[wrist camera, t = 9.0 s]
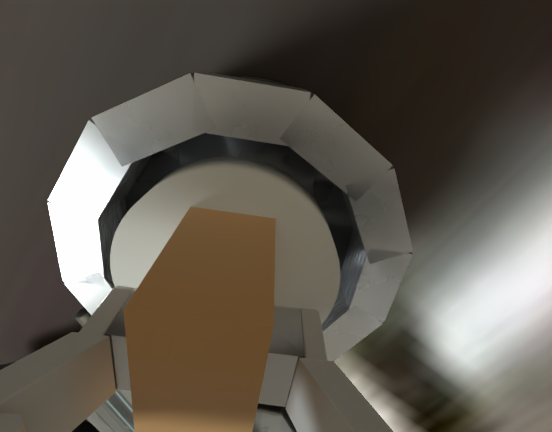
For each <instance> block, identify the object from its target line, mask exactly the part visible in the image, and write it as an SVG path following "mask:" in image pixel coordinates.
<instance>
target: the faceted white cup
mask: <svg viewBox="0 0 552 432" xmlns="http://www.w3.org/2000/svg"><path fill="white" fill-rule="evenodd" d="M228 156H230V157H241V158H248V159H252V160H257V161H260V162H263V163H266V164H269V165H272V166H274V167H276V168H278V169H280V170H282V171H284V172H286V173H287V174H289V175H290V176H291V177H293V178H294V179H296V180H297V181H298V182H299V183H301V184H302V185H303V186H304V187H305V188H306V189H307V190H308V191H309V192H310V193H311V195H312V196H313V197H314V198H315V199H316V201H317V203H318V204H319V206H320V207H321V209H322V211H323V213H324V215H325V218H326V220H327V223H328V226H329V229H330V232H331V235H332V238H333V241H334V244H335V247H336V251H337V255H338V258H339V264H340V287H339V291H338V295H337V299H336V301H335V304H334V306H333V308H332V310H331V312H330V314H329V315H328V317H327V318H326V320H325V321H324V322H323V323H322V330H323V336H324V342H325V347H326V353H327V359H328V361H335V360H336V359H337V358H339V357H340V356H341V355H343V354H344V353H345V352H346V351H348V350H349V349H350V348H352V347H353V346H354V345H356V344H357V343H358V342H359V341H361V340H362V339H363V338H365V337H366V336H367V335H369V334H370V333H371V332H372V331H374V330H375V329H376V328H378V327H379V326H380V325H382V324H383V323H382V321H385V319H386V317H387V314H388V312H389V309H390V307H391V305H392V302H393V300H394V298H395V295H396V293H397V290H398V288H399V286H400V283H401V281H402V279H403V276H404V274H405V271H406V269H407V267H408V264H409V262H410V259H411V257H412V255H413V254H412V252H413V249H412V244H411V240H410V235H409V231H408V226H407V222H406V217H405V213H404V208H403V204H402V200H401V195H400V191H399V186H398V182H397V177H396V173H395V168H394V167H392V166H393V165H392V164H391V163H390V162H389V161H388V160H386V159H385V158H384V157H383V156H382V155H381V154H380V153H379V152H378V151H377V150H375V149H374V148H373V147H372V146H371V145H370V144H369V143H368V142H367V141H366V140H364V139H363V138H362V137H361V136H360V135H359V134H358V133H357V132H356V131H355V130H353V129H352V128H351V127H350V126H349V125H348V124H347V123H346V122H345V121H344V120H342V119H341V118H340V117H339V116H338V115H337V114H336V113H335V112H334V111H333V110H331V109H330V108H329V107H328V106H327V105H326V104H325V103H324V102H323V101H322V100H320V99H319V98H318V97H317V96H316V95H315V94H313V93H312V92H310V91H308V90H306V89H303V88H298V87H292V86H289V85H287V84H284V83H282V82H278V81H274V80H270V79H266V78H258V77H233V76H227V75H221V74H215V73H189V74H187V75H185V76H183V77H180V78H178V79H176V80H174V81H172V82H169V83H167V84H165V85H163V86H161V87H158V88H156V89H154V90H152V91H149V92H147V93H145V94H143V95H141V96H138V97H136V98H134V99H132V100H130V101H127V102H125V103H123V104H121V105H118V106H116V107H114V108H112V109H110V110H107V111H105V112H103V113H101V114H99V115H96V116H94V117H92V120H89V121H88V123H87V125H86V127H85V129H84V131H83V132H82V134H81V136H80V138H79V140H78V142H77V144H76V146H75V148H74V150H73V152H72V154H71V156H70V158H69V160H68V162H67V164H66V166H65V168H64V170H63V172H62V174H61V176H60V178H59V180H58V182H57V184H56V185H55V187H54V189H53V191H52V193H51V195H50V197H49V199H48V200H49V201H50V202H49V203H48V207H49V212H50V217H51V222H52V228H53V233H54V238H55V243H56V248H57V254H58V259H59V264H60V269H61V274H62V280H63V281H66V282H65V283H64V284H65V285H66V286H67V288H68V289H69V290H70V291H71V292H72V293H73V295H74V296H75V297H76V298H77V299H78V300H79V302H80V303H81V304H82V305H83V306H84V307H85V309H86V310H87V311H88V312H89V313H90V314H91V315H92V314H93V313H94V312H95V311H96V309H97V308H98V307H99V305H100V304H101V303H102V301H103V300H104V299H105V298H106V296H107V295H108V294H109V292H110V291H111V290H112V289H113V288H114V287H115V286H114V283H113V280H112V275H111V269H110V252H111V245H112V241H113V238H114V235H115V232H116V230H117V228H118V226H119V224H120V222H121V220H122V219H123V217H124V216H125V215H126V213H127V212H128V211H129V210H130V208H131V207H132V206H133V205H134V204H136V203H137V202H138V201H139V200H140V199H141V198H142V197H143V196H144V195H145V194H146V193H147V192H148V191H150V190H151V189H152V188H153V187H154V186H155V185H156V184H157V183H158V182H159V181H160V180H161V179H162V178H164V177H165V176H166V175H168V174H169V173H171V172H172V171H174V170H175V169H177V168H180V167H182V166H184V165H186V164H188V163H191V162H194V161H198V160H201V159H206V158H212V157H228Z"/></svg>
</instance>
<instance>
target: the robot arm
mask: <svg viewBox="0 0 552 432" xmlns="http://www.w3.org/2000/svg"><path fill="white" fill-rule="evenodd" d="M136 289H137V288H132V287H126V286H119V285H118V286H116V287H114V288H113V289H112V290H111V291H110V292H109V294H108V295H107V296H106V298H105V299H104V300H103V301H102V303H101V304H100V305H99V307H98V308H97V309H96V311H95V312H94V313H93V314H92V316H91V317H90V318H89V320H88V321H87V322H86V324H85V325H84V326H83V327H82V329H81V330H80V331H79V332H71V333H69V334H67V335H65V336H64V337H62V338H60V339H58V340H56V341H54V342H52V343H50V344H48V345H47V346H45V347H43V348H41V349H39V350H37V351H35V352H33V353H32V354H30V355H28V356H26V357H24V358H22V359H20V360H18V361H17V362H15V363H13V364H11V365H9V366H7V367H5V368H3V369H1V370H0V432H72V431H73V430H74V429H75V428H76V427H77V426H79V425H80V424H81V423H82V422H83V421H84V420H85V419H86V418H88V417H89V416H90V415H91V414H92V413H93V412H94V411H95V410H96V409H98V408H99V407H100V406H101V405H102V404H103V403H104V402H105V401H107V400H108V399H109V398H110V397H111V396H112V395H113V394H114V393H115V392H116V390H128V391H131V388H130V377H129V366H128V355H127V344H126V333H125V323H124V312H123V309H124V308H125V306H126V305H127V303H128V302H129V300H130V299H131V297H132V296H133V294H134V293H135V291H136ZM258 403H260V404H267V405H275V406H282V407H286V408H285V409H286V411H287V413H288V415H289V417H290V419H291V421H292V423H293V425H294V427H295V429H296V431H297V432H393V431H392V429H391V428H390V427H389V426H388V425H387V424H386V422H385V421H384V420H383V419H382V418H381V417H380V415H379V414H378V413H377V412H376V411H375V409H374V408H373V407H372V406H371V405H370V404H369V402H368V401H367V400H366V399H365V398H364V397H363V395H362V394H361V393H360V392H359V391H358V390H357V388H356V387H355V386H354V385H353V384H352V382H351V381H350V380H349V379H348V378H347V377H346V375H345V374H344V373H343V372H342V371H341V370H340V368H339V367H338V366H337V365H336V364H335V363H334V361H328V359H327V353H326V347H325V342H324V336H323V330H322V325H321V319H320V313H319V311H318V310H314V309H304V308H300V309H299V308H293V307H284V306H275V305H274V328H273V333H272V338H271V343H270V348H269V353H268V357H267V362H266V367H265V372H264V377H263V382H262V387H261V392H260V397H259V402H258Z"/></svg>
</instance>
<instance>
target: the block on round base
mask: <svg viewBox="0 0 552 432" xmlns="http://www.w3.org/2000/svg"><path fill="white" fill-rule="evenodd" d="M110 269H111V275H112V280H113V283H114V286H115V287H116V286H118V285H119V286H126V287H132V288H137V289H136V291H135V293H134V294H133V296H132V297H131V299H130V300H129V302H128V303H127V305H126V306H125V308H124V309H123V312H124V323H125V333H126V344H127V355H128V366H129V377H130V388H131V399H132V410H133V420H134V431H135V432H252V431H253V426H254V421H255V416H256V411H257V406H258V402H259V397H260V392H261V387H262V382H263V377H264V372H265V367H266V362H267V357H268V353H269V348H270V343H271V338H272V333H273V328H274V305H275V306H284V307H293V308H299V309H300V308H304V309H314V310H318V311H319V313H320V319H321V325H322V323H323V322H324V321H325V320H326V318H327V317H328V315H329V314H330V312H331V310H332V308H333V306H334V304H335V301H336V299H337V295H338V291H339V287H340V264H339V258H338V255H337V251H336V247H335V244H334V241H333V238H332V235H331V232H330V229H329V226H328V223H327V220H326V218H325V215H324V213H323V211H322V209H321V207H320V206H319V204H318V203H317V201H316V199H315V198H314V197H313V196H312V195H311V193H310V192H309V191H308V190H307V189H306V188H305V187H304V186H303V185H302V184H301V183H299V182H298V181H297V180H296V179H294V178H293V177H291V176H290V175H289V174H287V173H286V172H284V171H282V170H280V169H278V168H276V167H274V166H272V165H269V164H266V163H263V162H260V161H257V160H252V159H248V158H241V157H230V156H228V157H212V158H206V159H201V160H198V161H194V162H191V163H188V164H186V165H184V166H182V167H180V168H177V169H175V170H174V171H172V172H171V173H169V174H168V175H166V176H165V177H164V178H162V179H161V180H160V181H159V182H158V183H157V184H156V185H155V186H154V187H153V188H152V189H151V190H150V191H148V192H147V193H146V194H145V195H144V196H143V197H142V198H141V199H140V200H139V201H138V202H137V203H136V204H134V205H133V206H132V207H131V208H130V210H129V211H128V212H127V213H126V215H125V216H124V217H123V219H122V220H121V222H120V224H119V226H118V228H117V230H116V232H115V235H114V238H113V241H112V245H111V252H110Z"/></svg>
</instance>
